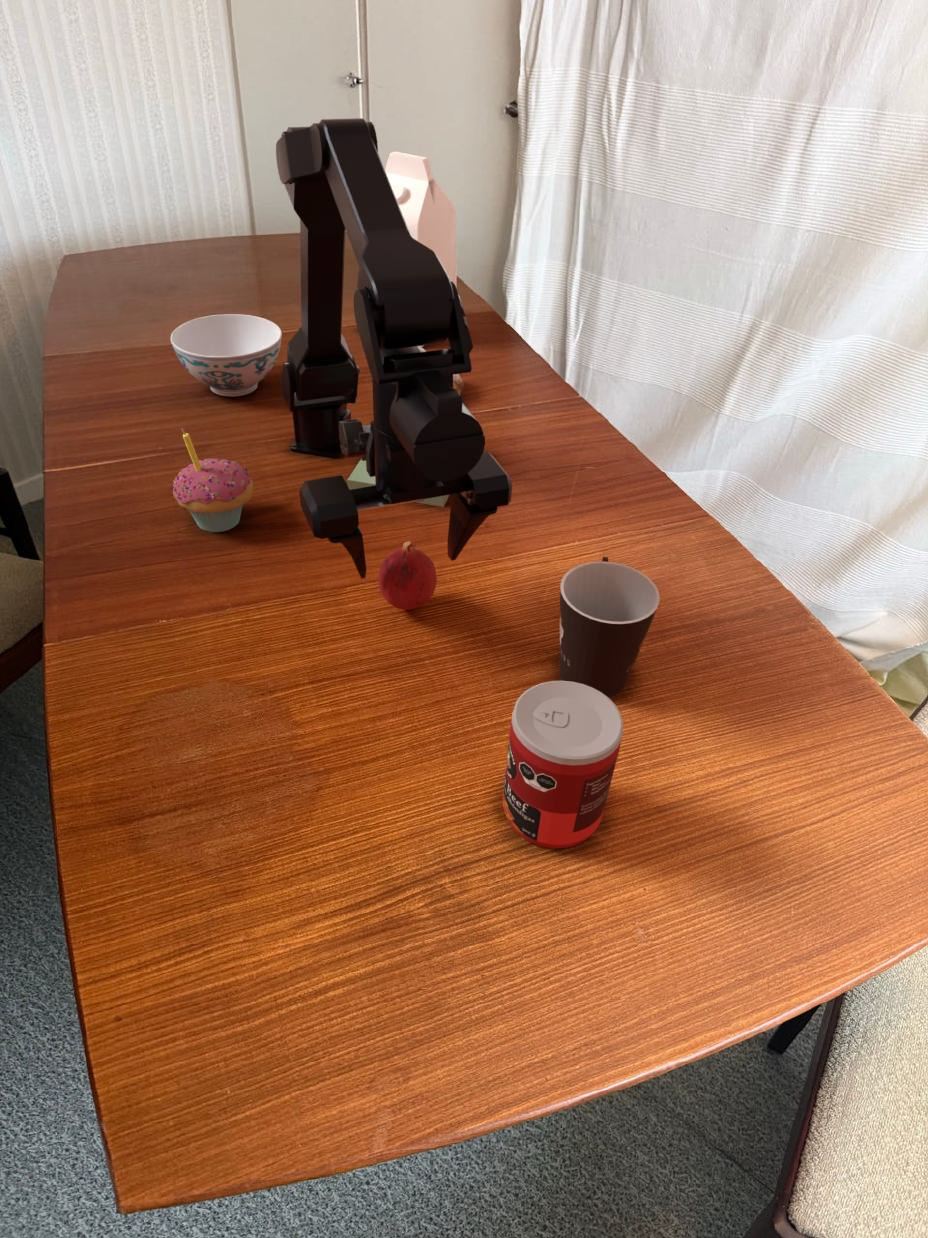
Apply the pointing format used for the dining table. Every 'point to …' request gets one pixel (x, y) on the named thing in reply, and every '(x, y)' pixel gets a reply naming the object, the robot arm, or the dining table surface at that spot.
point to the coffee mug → (604, 623)
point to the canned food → (560, 762)
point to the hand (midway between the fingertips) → (407, 566)
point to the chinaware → (228, 351)
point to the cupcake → (212, 490)
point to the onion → (407, 577)
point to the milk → (424, 207)
